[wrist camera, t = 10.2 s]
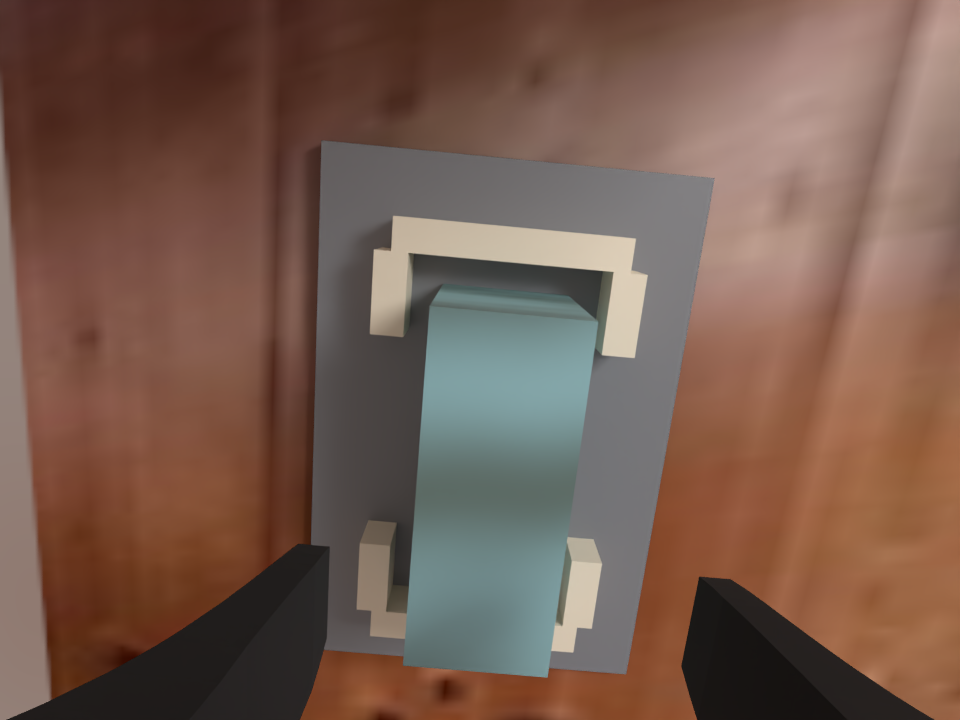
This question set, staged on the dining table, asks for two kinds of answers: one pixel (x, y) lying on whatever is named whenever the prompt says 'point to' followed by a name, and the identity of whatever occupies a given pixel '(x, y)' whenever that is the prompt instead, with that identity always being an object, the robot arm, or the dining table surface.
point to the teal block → (495, 477)
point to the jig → (402, 356)
